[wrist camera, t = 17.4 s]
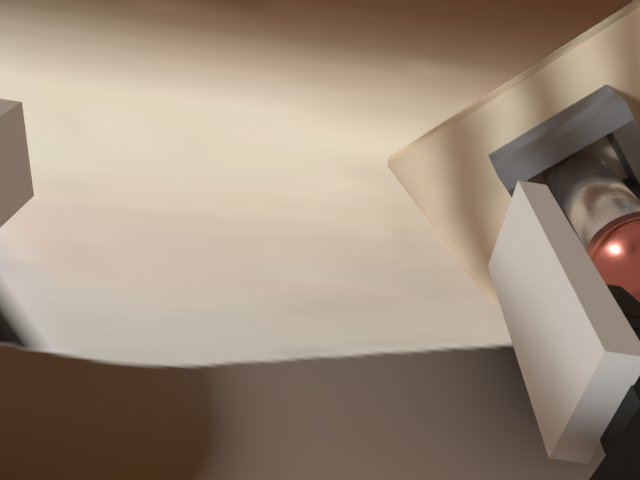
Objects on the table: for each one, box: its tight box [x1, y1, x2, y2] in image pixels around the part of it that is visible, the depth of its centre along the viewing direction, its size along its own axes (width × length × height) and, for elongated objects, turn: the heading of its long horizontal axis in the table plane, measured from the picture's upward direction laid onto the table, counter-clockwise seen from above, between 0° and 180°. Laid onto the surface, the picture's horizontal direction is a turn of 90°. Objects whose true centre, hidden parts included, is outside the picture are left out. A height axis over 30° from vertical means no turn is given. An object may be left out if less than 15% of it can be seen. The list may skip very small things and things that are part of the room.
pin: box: [543, 145, 640, 302], centre depth 38 cm, size 6×6×14 cm
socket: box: [388, 0, 640, 306], centre depth 43 cm, size 22×16×5 cm
